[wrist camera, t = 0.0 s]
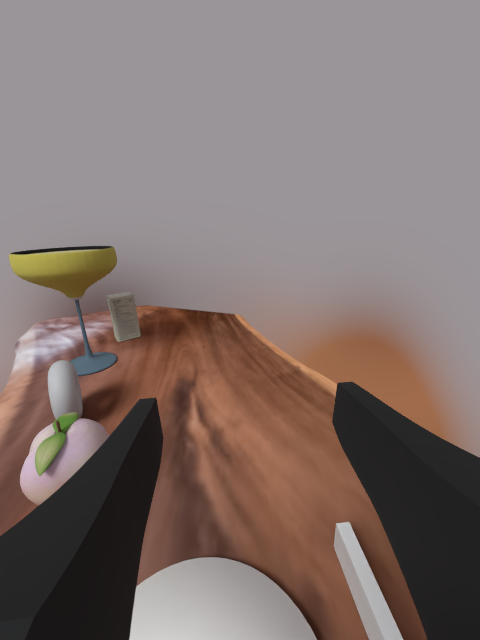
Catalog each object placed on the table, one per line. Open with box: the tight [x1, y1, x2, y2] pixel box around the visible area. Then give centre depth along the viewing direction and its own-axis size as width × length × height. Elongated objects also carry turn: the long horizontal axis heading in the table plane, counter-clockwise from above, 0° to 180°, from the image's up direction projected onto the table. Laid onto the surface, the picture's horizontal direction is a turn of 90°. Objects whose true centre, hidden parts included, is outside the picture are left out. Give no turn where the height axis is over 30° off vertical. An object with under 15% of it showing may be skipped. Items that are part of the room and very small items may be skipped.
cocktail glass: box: [9, 246, 117, 376], centre depth 60 cm, size 18×18×25 cm
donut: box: [48, 360, 83, 419], centre depth 44 cm, size 10×3×10 cm, turn 28°
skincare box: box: [107, 292, 141, 342], centre depth 77 cm, size 6×4×12 cm
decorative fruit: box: [20, 412, 109, 505], centre depth 31 cm, size 9×8×10 cm
